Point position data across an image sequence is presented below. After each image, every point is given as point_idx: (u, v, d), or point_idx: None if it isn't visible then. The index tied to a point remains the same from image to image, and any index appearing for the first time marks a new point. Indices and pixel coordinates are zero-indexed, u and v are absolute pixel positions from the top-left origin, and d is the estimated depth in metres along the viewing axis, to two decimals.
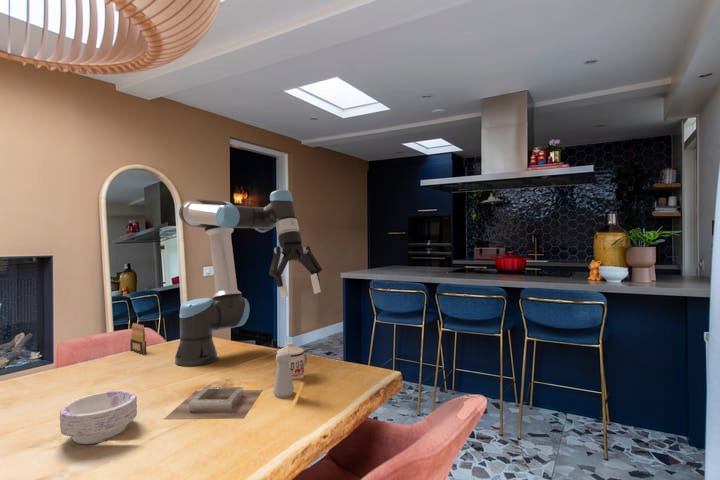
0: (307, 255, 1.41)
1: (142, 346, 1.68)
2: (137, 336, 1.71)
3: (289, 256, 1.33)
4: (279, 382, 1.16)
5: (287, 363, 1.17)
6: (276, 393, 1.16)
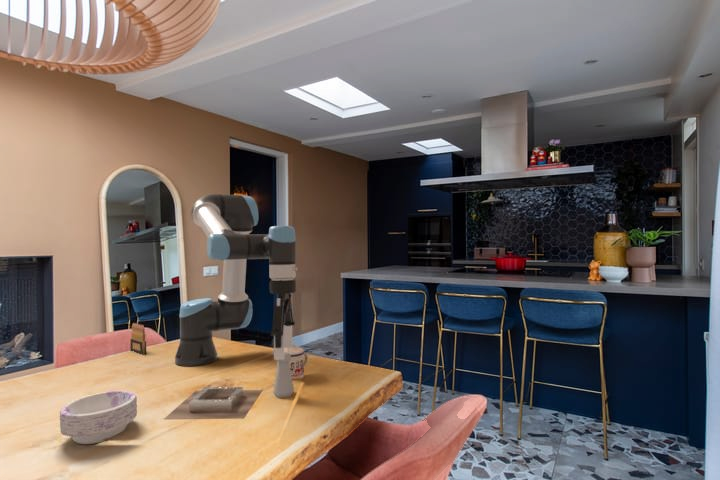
0: None
1: (142, 346, 1.68)
2: (137, 336, 1.71)
3: (287, 310, 1.15)
4: (279, 382, 1.16)
5: (287, 363, 1.17)
6: (276, 393, 1.16)
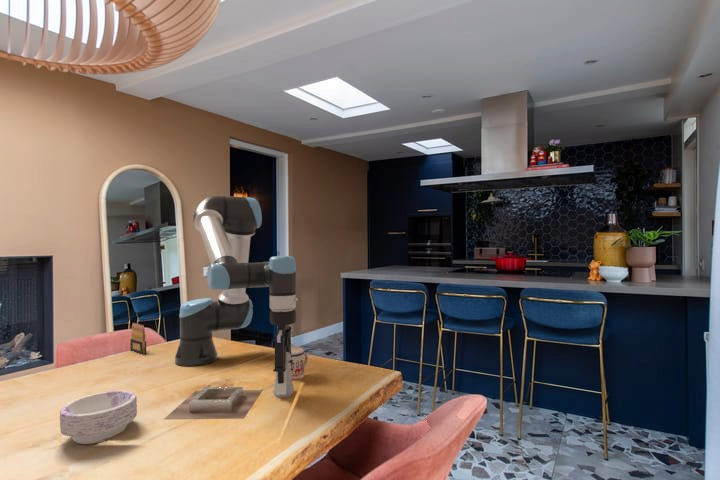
0: None
1: (142, 346, 1.68)
2: (137, 336, 1.70)
3: (287, 342, 1.16)
4: None
5: (287, 363, 1.17)
6: None
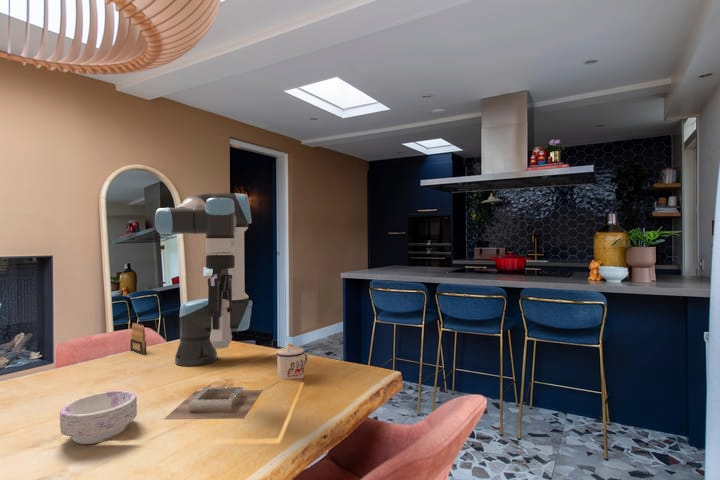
0: (226, 284, 1.18)
1: (142, 346, 1.68)
2: (137, 336, 1.70)
3: (224, 287, 1.11)
4: None
5: (224, 310, 1.12)
6: None
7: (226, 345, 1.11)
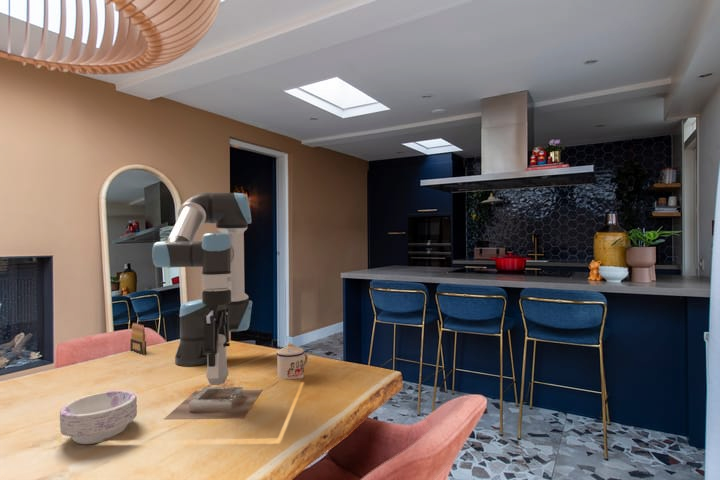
0: None
1: (142, 346, 1.68)
2: (137, 336, 1.71)
3: (220, 323, 1.10)
4: None
5: (221, 346, 1.11)
6: None
7: (222, 381, 1.11)
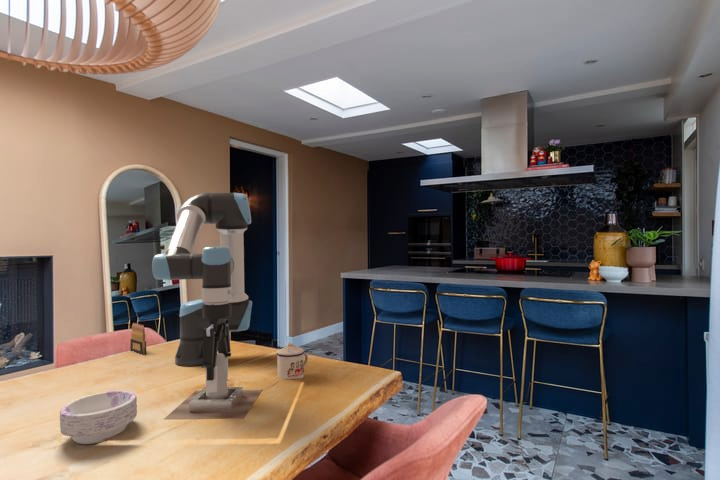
0: None
1: (142, 346, 1.68)
2: (137, 336, 1.71)
3: (220, 337, 1.10)
4: None
5: (220, 364, 1.13)
6: (208, 396, 1.10)
7: None
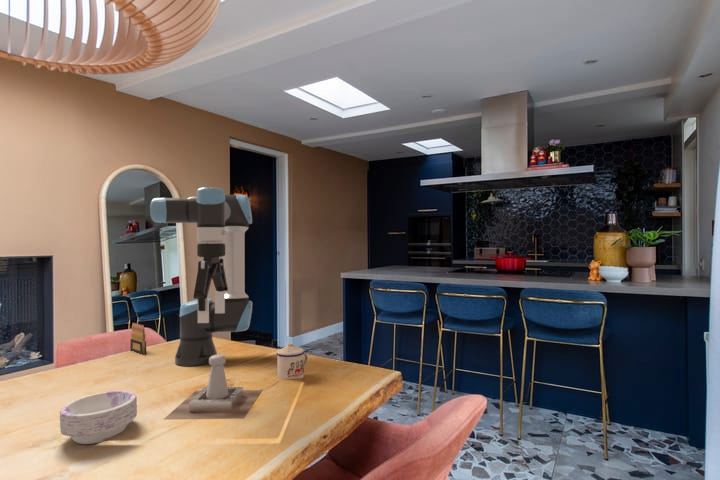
0: None
1: (142, 346, 1.68)
2: (137, 336, 1.70)
3: (214, 273, 1.13)
4: (211, 387, 1.10)
5: (221, 366, 1.11)
6: (208, 398, 1.10)
7: None
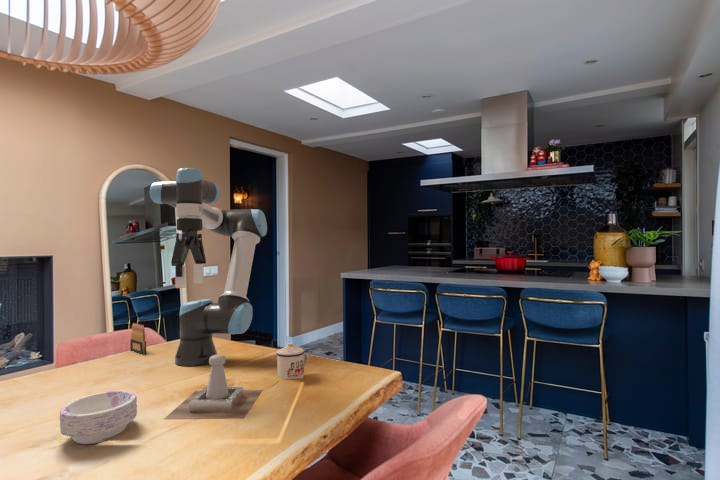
0: None
1: (142, 346, 1.68)
2: (137, 336, 1.71)
3: (191, 245, 1.25)
4: (211, 387, 1.10)
5: (221, 366, 1.11)
6: (208, 398, 1.10)
7: None
